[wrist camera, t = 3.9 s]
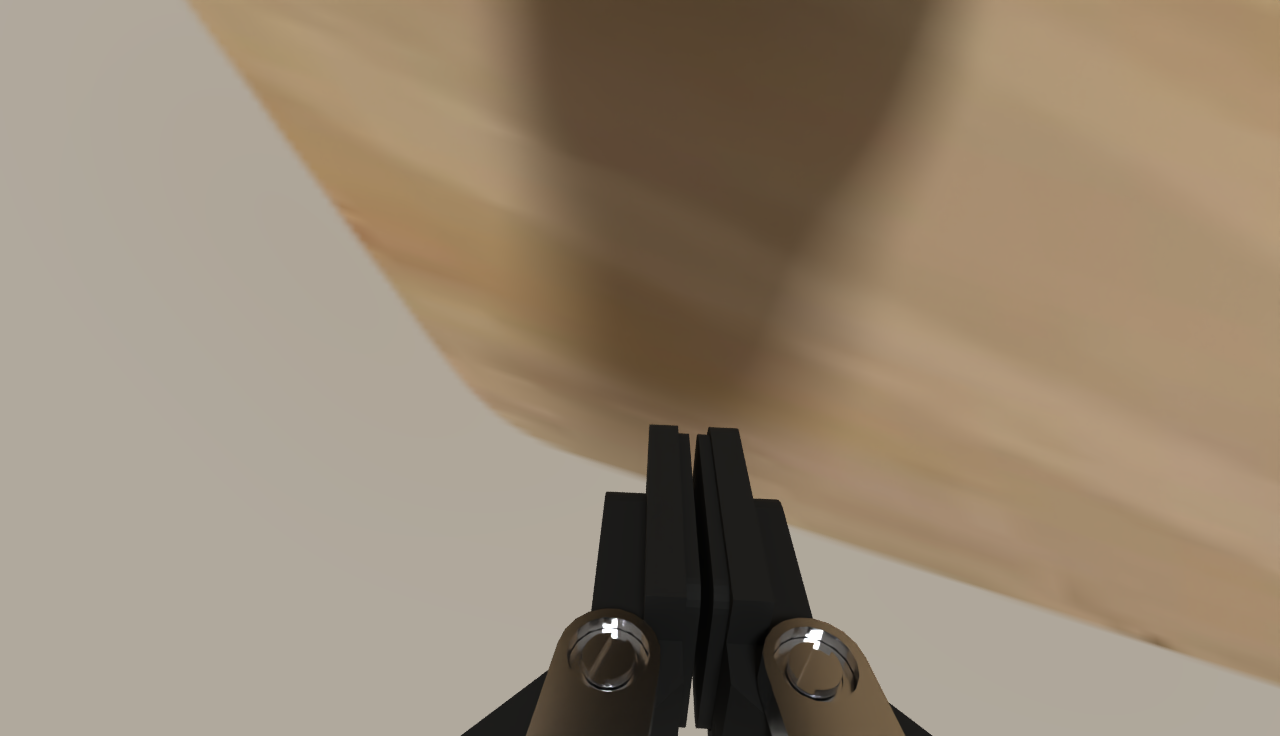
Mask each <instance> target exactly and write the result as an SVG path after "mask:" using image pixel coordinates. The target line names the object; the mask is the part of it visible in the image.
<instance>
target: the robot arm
mask: <svg viewBox="0 0 1280 736" xmlns="http://www.w3.org/2000/svg"><path fill="white" fill-rule="evenodd" d="M692 677H693V695H694V712H695V713H694V714H695V724H696V725H695V726H696V728H704V729H708V736H932V735H931V734H929V733H928V732H927V731H926V730H924V729H922V728H921V727H920V726H919V725H918V724H916V723H915V722H914V721H912V720H911V719H909V718H908V717H907V716H906V715H904V714H903V713H902V712H900V711H899V710H898V709H897V708H895V707H894V706H893V705H891V704H890V703H889V702H888V701H887V699H886V697H885V695H884V693H883V691H882V689H881V687H880V685H879V683H878V681H877V679H876V677H875V675H874V673H873V671H872V669H871V667H870V665H869V663H868V661H867V659H866V657H865V656H864V654H863V653H862V651H861V650H860V648H859V647H858V645H857V644H856V643H855V642H854V641H853V640H852V639H851V638H850V637H848V636H847V635H846V634H845V633H844V632H843V631H841V630H839V629H837V628H835V627H834V626H832V625H830V624H829V623H826V622H822V621H819V620H816V619H813V618H812V614H811V610H810V606H809V603H808V599H807V595H806V592H805V588H804V584H803V581H802V577H801V574H800V570H799V566H798V562H797V558H796V555H795V551H794V548H793V544H792V540H791V537H790V533H789V529H788V525H787V522H786V518H785V514H784V511H783V507H782V505H781V502H780V501H779V500H773V499H753V496H752V491H751V486H750V482H749V477H748V472H747V467H746V463H745V458H744V453H743V448H742V444H741V439H740V434H739V430H738V429H736V428H714V427H709V428H708V432H707V435H702V434H698V435H697V439H696V449H695V459H694V469H693V479H692V466H691V453H690V440H689V434H680V433H678V426H671V425H650V426H649V444H648V463H647V482H646V493H645V494H644V493H625V492H606V495H605V502H604V510H603V519H602V527H601V535H600V543H599V551H598V560H597V568H596V576H595V585H594V593H593V601H592V609H591V612H588V613H586V614H584V615H582V616H580V617H578V618H577V619H575V620H574V621H573V622H572V623H571V624H570V625H569V626H568V627H567V628H566V629H565V631H564V632H563V634H562V636H561V638H560V640H559V641H558V644H557V647H556V649H555V652H554V655H553V658H552V661H551V664H550V667H549V670H548V671H546V672H545V673H544V674H542V675H541V676H540V677H538V678H537V679H536V680H534V681H533V682H532V683H530V684H529V685H528V686H526V687H525V688H524V689H522V690H521V691H520V692H518V693H517V694H516V695H514V696H513V697H512V698H510V699H509V700H508V701H506V702H505V703H504V704H502V705H501V706H500V707H498V708H497V709H496V710H494V711H493V712H492V713H491V714H489V715H488V716H486V717H485V718H484V719H482V720H481V721H480V722H479V723H477V724H476V725H474V726H473V727H472V728H470V729H469V730H468V731H466V732H465V733H464V734H462V735H461V736H678V728H679V727H684V728H685V727H686V721H687V713H688V705H689V697H690V689H691V681H692Z"/></svg>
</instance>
